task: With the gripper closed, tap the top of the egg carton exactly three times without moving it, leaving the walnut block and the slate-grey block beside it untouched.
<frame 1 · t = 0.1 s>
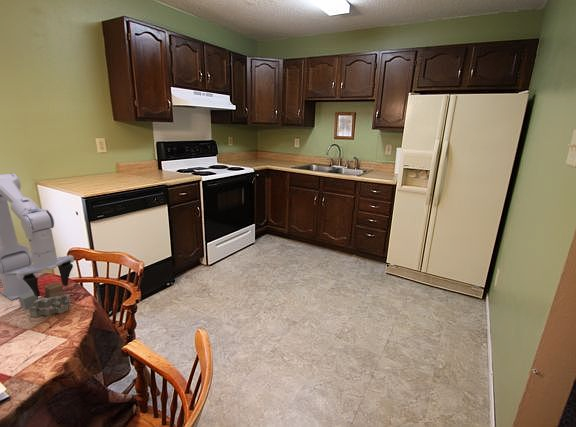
hand: (51, 290, 97), 10 cm above the table, tool pointing down, fingers open, 7 cm apart
walnut block: (55, 295, 112), on the table
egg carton: (51, 310, 104), on the table
slate-grey block: (30, 305, 106), on the table
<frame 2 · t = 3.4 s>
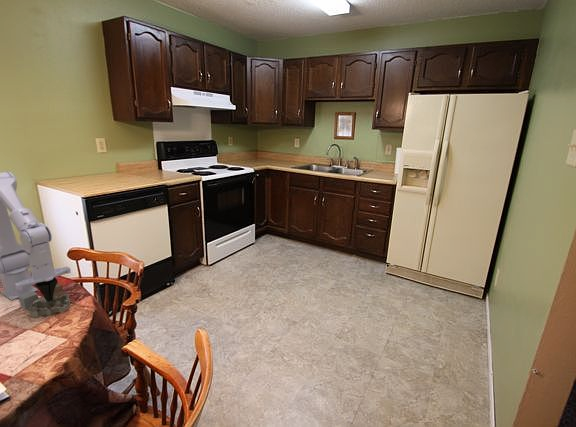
hand: (49, 299, 103), 4 cm above the table, tool pointing down, fingers closed
nothing on the table moved.
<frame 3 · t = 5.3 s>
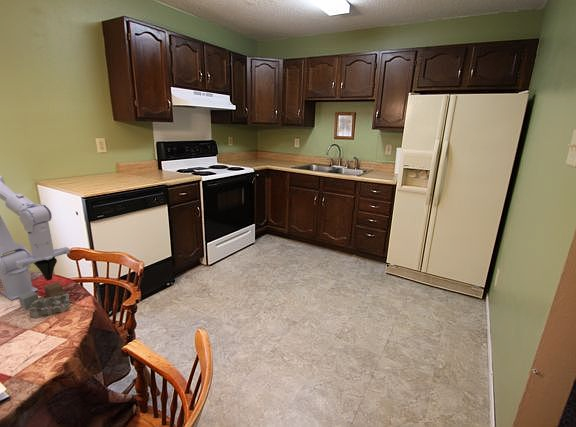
hand: (48, 279, 105), 9 cm above the table, tool pointing down, fingers closed
nothing on the table moved.
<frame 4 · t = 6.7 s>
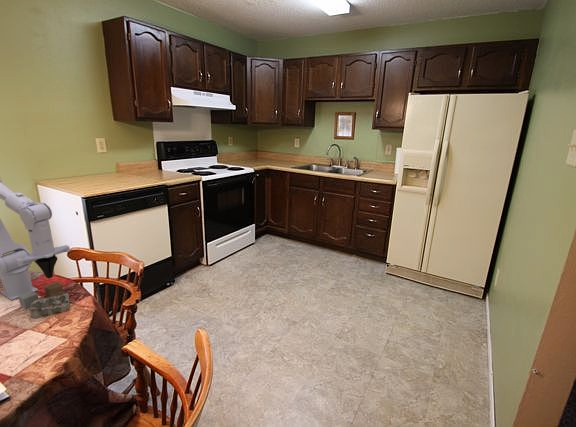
hand: (49, 277, 106), 9 cm above the table, tool pointing down, fingers closed
nothing on the table moved.
at the end: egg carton moved 0.5 cm from its start; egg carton tilted 0°; walnut block moved 0.1 cm from its start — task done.
